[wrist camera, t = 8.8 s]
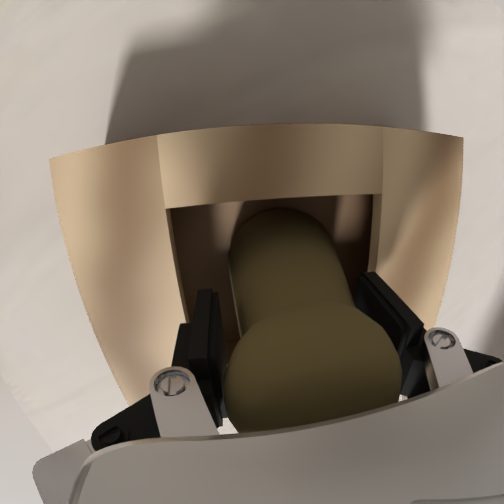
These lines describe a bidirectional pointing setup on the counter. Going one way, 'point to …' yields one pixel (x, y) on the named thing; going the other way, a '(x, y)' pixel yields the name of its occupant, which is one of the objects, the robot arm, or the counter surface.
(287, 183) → the drop box
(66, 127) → the counter surface
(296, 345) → the cork
